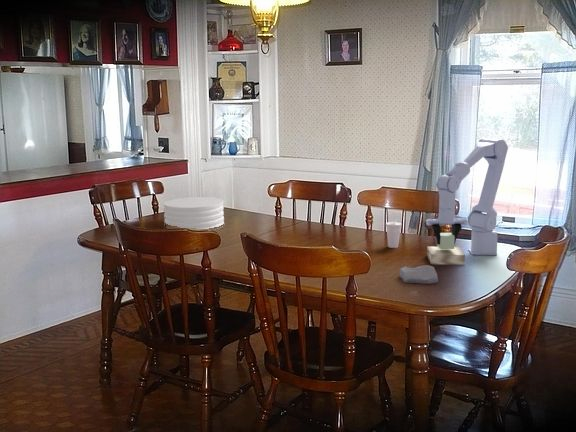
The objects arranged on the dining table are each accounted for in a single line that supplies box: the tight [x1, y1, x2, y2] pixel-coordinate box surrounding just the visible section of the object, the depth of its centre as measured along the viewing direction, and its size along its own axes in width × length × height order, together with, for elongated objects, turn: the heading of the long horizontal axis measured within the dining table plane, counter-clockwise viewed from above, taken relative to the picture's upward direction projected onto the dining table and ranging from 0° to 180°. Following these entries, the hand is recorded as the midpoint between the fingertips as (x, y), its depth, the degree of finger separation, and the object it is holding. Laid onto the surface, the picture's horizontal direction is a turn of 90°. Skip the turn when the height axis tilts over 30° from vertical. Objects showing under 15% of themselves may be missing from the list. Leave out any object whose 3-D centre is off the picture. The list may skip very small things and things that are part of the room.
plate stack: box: [163, 196, 225, 229], centre depth 309 cm, size 28×28×12 cm
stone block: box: [399, 264, 439, 285], centre depth 219 cm, size 12×5×10 cm
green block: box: [436, 232, 456, 249], centre depth 242 cm, size 5×5×5 cm
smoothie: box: [385, 212, 402, 249], centre depth 262 cm, size 6×6×14 cm
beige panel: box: [426, 245, 466, 266], centre depth 243 cm, size 12×12×4 cm
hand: (445, 243), depth 242 cm, fingers closed on green block, 5 cm apart
